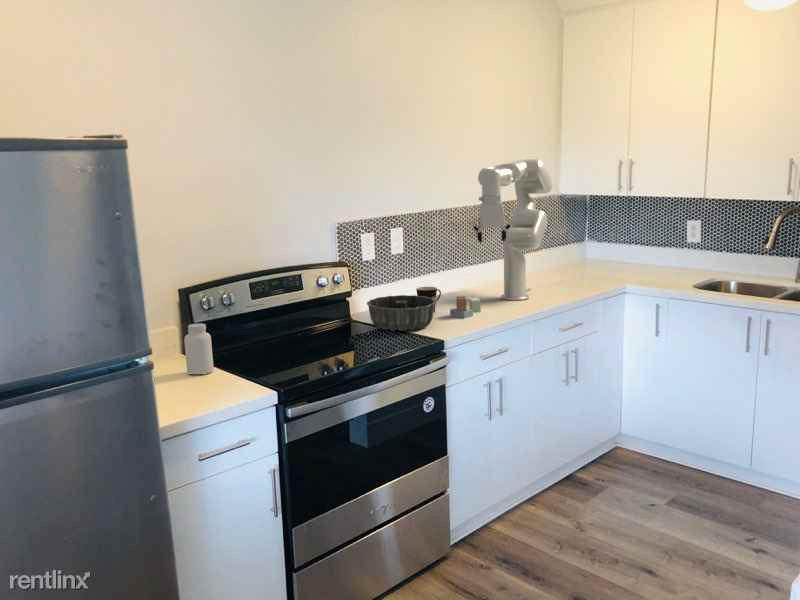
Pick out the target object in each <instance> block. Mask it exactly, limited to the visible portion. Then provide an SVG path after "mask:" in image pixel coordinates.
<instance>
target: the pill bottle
mask: <svg viewBox="0 0 800 600" xmlns="http://www.w3.org/2000/svg"><path fill="white" fill-rule="evenodd" d="M206 329H207V325H206V324H205V323H192V324H189V325H188V326H187V334H186V335H185V336H184V340H183V342H184V351H185V362H186V363H185V364H186V371H187V374H188V373H191V374H203V373H208V372H211V371H213V372H214V358H213V347H212V345H213V344H212V336H211V334H210V333H208V332H206V331H207V330H206ZM211 373H212V372H211Z"/></svg>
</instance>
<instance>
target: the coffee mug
mask: <svg viewBox="0 0 800 600" xmlns="http://www.w3.org/2000/svg"><path fill="white" fill-rule="evenodd" d="M415 291H416V296H424V297H428V298H433V299H434V300H436V304H437V302H438V300H439V299H440V298H441V296H442V291H441V289H438V288H437V286H436V287H435V286H421V287H417V288H416V290H415ZM437 292H439V295H438V294H437ZM437 295H438V296H437ZM436 304H435V306H434V313H435V312H436Z"/></svg>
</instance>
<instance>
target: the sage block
mask: <svg viewBox="0 0 800 600" xmlns="http://www.w3.org/2000/svg"><path fill="white" fill-rule="evenodd" d="M468 301H469V309H470V310H473V312H474V313H481V311H482V307H481V299H480V298H478V297H469V300H468Z"/></svg>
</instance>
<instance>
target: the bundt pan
mask: <svg viewBox="0 0 800 600" xmlns="http://www.w3.org/2000/svg"><path fill="white" fill-rule="evenodd" d="M435 304H437V302H436V300H434V299H433V298H428V297H424V296H417V295H414V294H413V295H412V294H411V295H407V294H406V295H405V294H404V295H403V294H401V295H388V296H380V297H376V298H372V299H369V301H367V302H366V305H368V311H369V316H370V319H371V322H372V324H373V325H374V327H376V328H377V329H380V330H386V331H389V330H390V331H391V332H395V331H399V332H405V331H407V330H408V331H409V332H412V331H413V330H420V329H423V328H427V327H428V326H430V324H431V322H432V320H433V319H434V314H435V312H434V306H435ZM435 307H436V306H435Z"/></svg>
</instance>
